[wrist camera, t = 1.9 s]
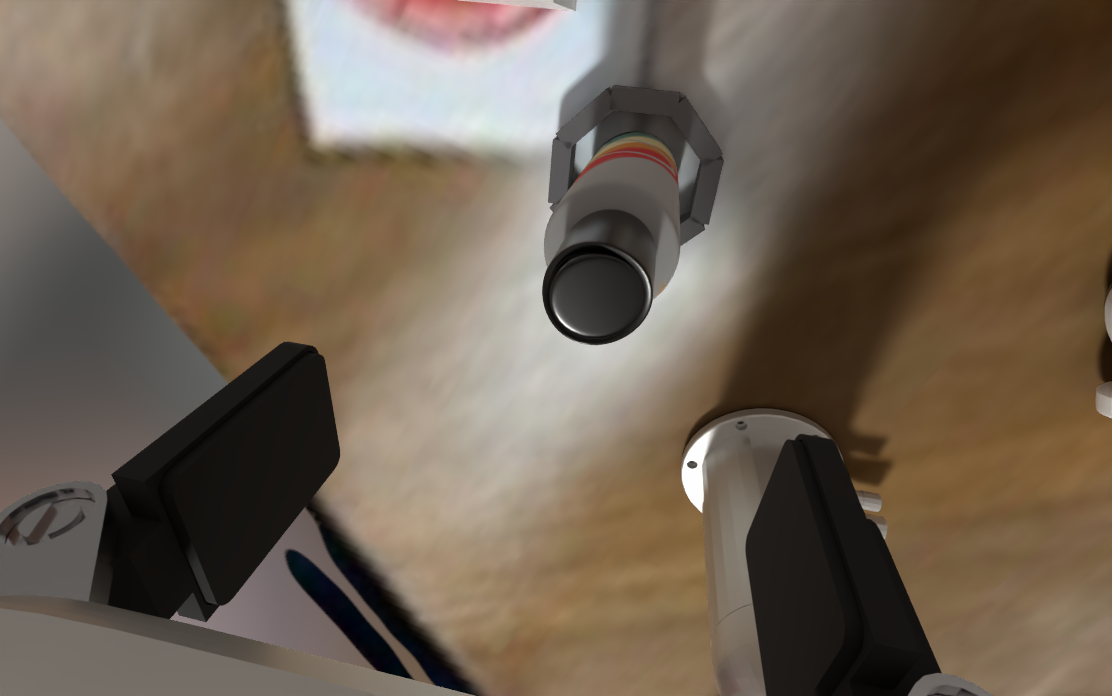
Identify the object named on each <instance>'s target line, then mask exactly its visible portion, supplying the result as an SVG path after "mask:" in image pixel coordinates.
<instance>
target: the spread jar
mask: <svg viewBox="0 0 1112 696" xmlns="http://www.w3.org/2000/svg"><path fill="white" fill-rule="evenodd" d="M1104 318H1105V324H1106V328H1107V332H1108V335H1109V337H1110V339H1111V341H1112V283H1111V285H1110V287H1109V289H1108V291H1107V293H1106V296H1105V301H1104ZM1096 409H1097V411H1098V412H1100V413H1101V414H1103V415H1105V416H1107V417H1110V418H1112V381H1110V382H1106V383H1103V384H1100V385H1099V386H1097V388H1096Z"/></svg>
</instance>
